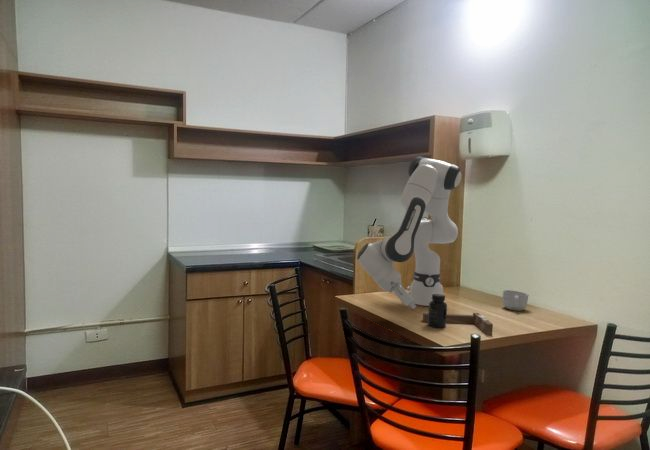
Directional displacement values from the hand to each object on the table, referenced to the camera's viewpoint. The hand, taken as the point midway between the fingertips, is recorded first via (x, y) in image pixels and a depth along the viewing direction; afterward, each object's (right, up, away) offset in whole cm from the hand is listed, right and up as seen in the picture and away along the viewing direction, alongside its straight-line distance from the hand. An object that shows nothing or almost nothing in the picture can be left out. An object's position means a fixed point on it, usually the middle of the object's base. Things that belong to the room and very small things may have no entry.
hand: (414, 306), depth 174 cm
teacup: (+52, -7, +33) cm, 62 cm away
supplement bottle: (+9, -8, +1) cm, 12 cm away
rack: (+16, -8, +1) cm, 18 cm away
